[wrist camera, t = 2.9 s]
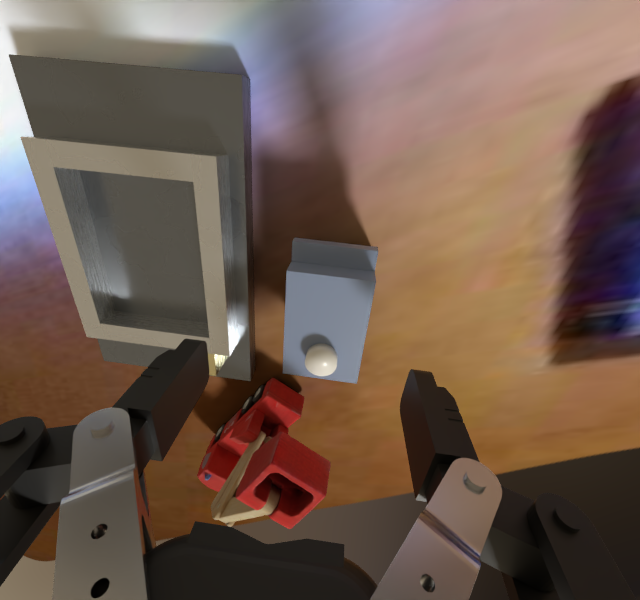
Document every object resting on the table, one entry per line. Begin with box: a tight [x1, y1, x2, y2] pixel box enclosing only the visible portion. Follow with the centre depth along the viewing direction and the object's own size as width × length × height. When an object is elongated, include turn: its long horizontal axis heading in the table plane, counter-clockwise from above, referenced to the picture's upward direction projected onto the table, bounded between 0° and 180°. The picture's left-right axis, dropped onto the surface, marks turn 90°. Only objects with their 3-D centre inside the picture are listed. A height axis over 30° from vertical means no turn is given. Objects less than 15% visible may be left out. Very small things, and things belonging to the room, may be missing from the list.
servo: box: [283, 238, 378, 384], centre depth 17 cm, size 4×8×6 cm, turn 175°
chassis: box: [9, 55, 255, 381], centre depth 18 cm, size 11×18×3 cm, turn 175°
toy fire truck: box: [197, 378, 330, 529], centre depth 21 cm, size 3×14×10 cm, turn 141°
